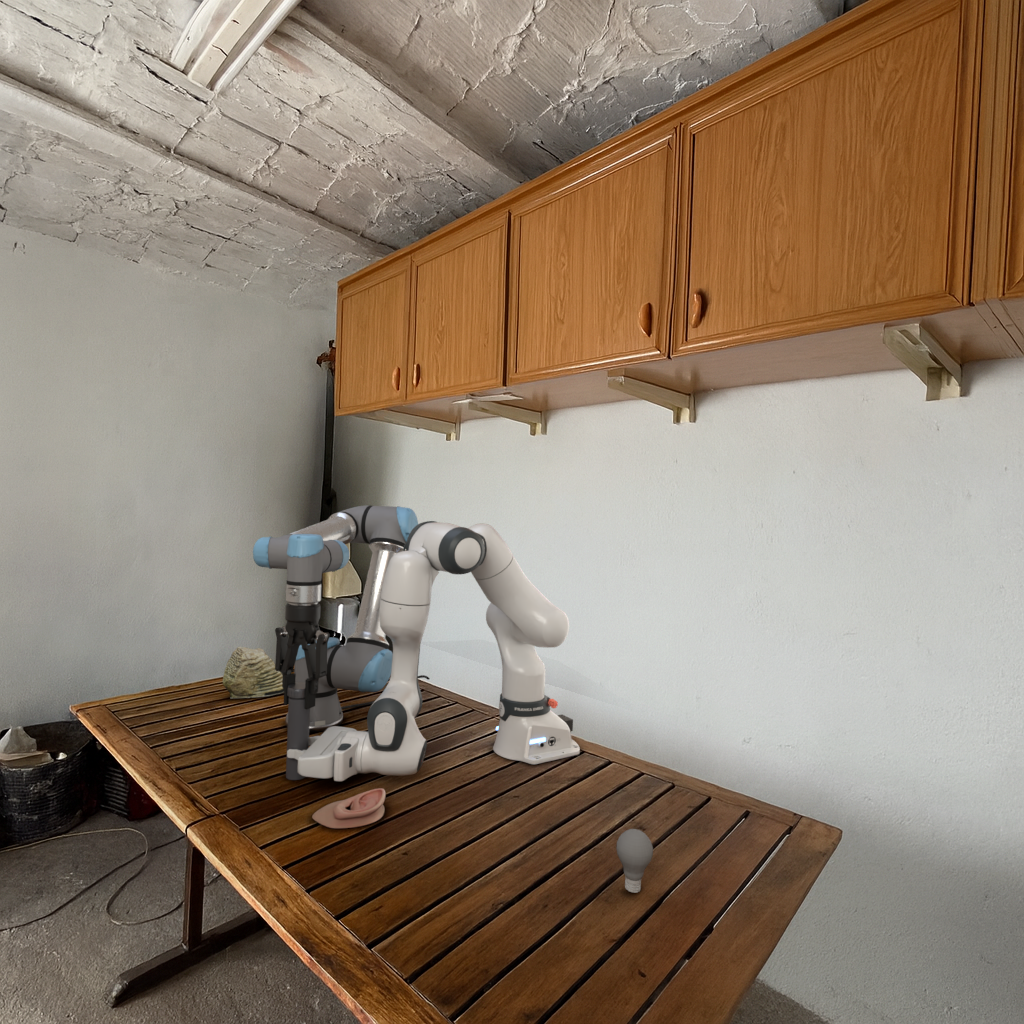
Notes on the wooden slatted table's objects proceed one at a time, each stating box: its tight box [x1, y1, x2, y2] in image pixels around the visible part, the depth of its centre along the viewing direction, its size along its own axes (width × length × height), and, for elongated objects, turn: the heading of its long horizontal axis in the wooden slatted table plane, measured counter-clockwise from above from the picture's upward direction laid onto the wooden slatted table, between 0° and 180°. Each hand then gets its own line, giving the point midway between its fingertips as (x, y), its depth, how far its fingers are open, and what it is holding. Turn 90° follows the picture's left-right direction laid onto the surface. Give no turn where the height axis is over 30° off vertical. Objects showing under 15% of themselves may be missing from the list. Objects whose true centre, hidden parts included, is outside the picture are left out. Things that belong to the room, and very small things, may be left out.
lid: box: [287, 682, 305, 698], centre depth 143 cm, size 5×5×2 cm
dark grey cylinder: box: [285, 697, 310, 781], centre depth 143 cm, size 5×5×20 cm
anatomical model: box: [311, 787, 387, 829], centre depth 126 cm, size 13×4×12 cm
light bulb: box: [615, 828, 654, 894], centre depth 106 cm, size 6×6×10 cm
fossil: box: [222, 646, 284, 699], centre depth 198 cm, size 9×18×15 cm, turn 132°
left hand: (299, 705), depth 143 cm, fingers closed on lid, 5 cm apart
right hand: (293, 747), depth 143 cm, fingers closed on dark grey cylinder, 5 cm apart
